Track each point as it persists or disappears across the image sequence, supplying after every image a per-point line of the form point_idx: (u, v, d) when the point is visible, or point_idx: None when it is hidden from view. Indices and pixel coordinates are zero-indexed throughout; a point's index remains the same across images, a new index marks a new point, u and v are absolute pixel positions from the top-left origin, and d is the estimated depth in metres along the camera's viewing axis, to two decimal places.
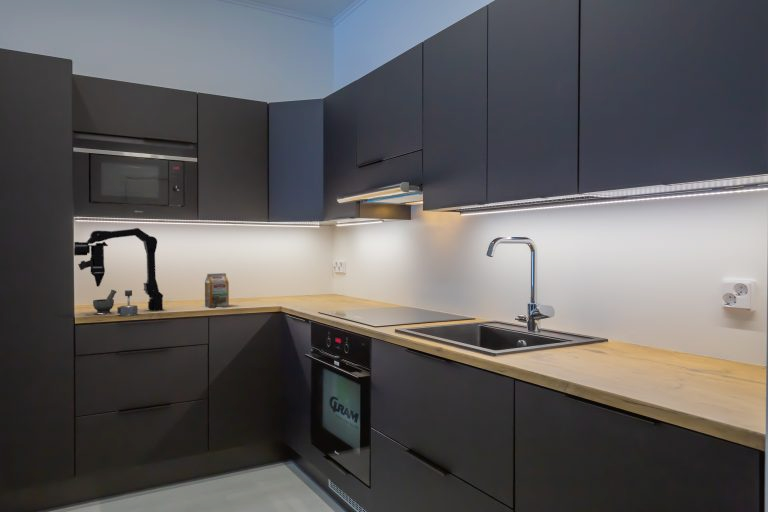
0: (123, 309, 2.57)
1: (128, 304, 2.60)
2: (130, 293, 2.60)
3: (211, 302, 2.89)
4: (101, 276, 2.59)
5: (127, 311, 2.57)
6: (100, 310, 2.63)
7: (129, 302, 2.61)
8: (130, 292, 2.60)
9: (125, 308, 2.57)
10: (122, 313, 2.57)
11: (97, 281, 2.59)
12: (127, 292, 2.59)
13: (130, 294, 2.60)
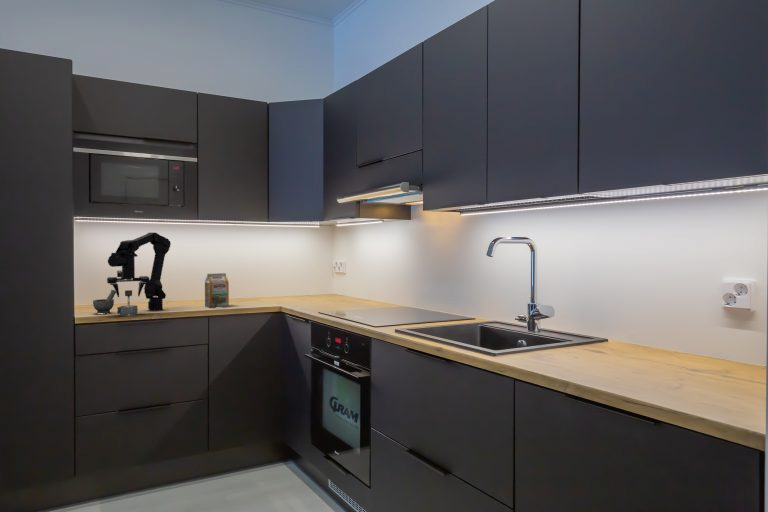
0: (123, 309, 2.57)
1: (128, 304, 2.60)
2: (130, 293, 2.60)
3: (211, 302, 2.89)
4: (114, 287, 2.56)
5: (127, 311, 2.57)
6: (100, 310, 2.63)
7: (129, 302, 2.61)
8: (130, 292, 2.60)
9: (125, 308, 2.57)
10: (122, 313, 2.57)
11: (116, 292, 2.58)
12: (127, 292, 2.59)
13: (130, 294, 2.60)
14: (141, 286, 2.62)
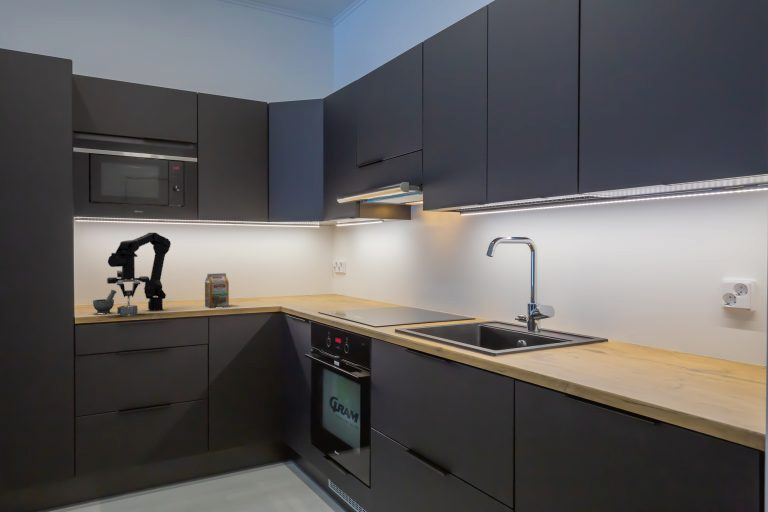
0: (123, 309, 2.57)
1: (128, 304, 2.60)
2: (130, 293, 2.60)
3: (211, 302, 2.89)
4: (121, 287, 2.57)
5: (127, 311, 2.57)
6: (100, 310, 2.63)
7: (129, 302, 2.61)
8: (130, 292, 2.60)
9: (125, 308, 2.57)
10: (122, 313, 2.57)
11: (122, 292, 2.59)
12: (127, 292, 2.59)
13: (130, 294, 2.60)
14: (135, 287, 2.60)
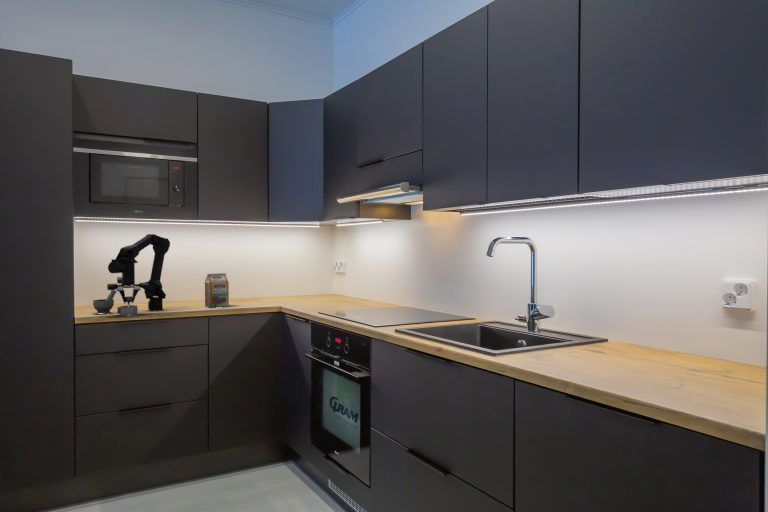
0: (123, 309, 2.57)
1: None
2: (130, 299, 2.60)
3: (211, 302, 2.89)
4: (121, 293, 2.58)
5: (127, 311, 2.57)
6: (100, 310, 2.63)
7: None
8: (130, 298, 2.60)
9: (125, 308, 2.57)
10: (122, 313, 2.57)
11: (122, 298, 2.59)
12: (128, 298, 2.59)
13: (130, 300, 2.60)
14: (135, 293, 2.60)
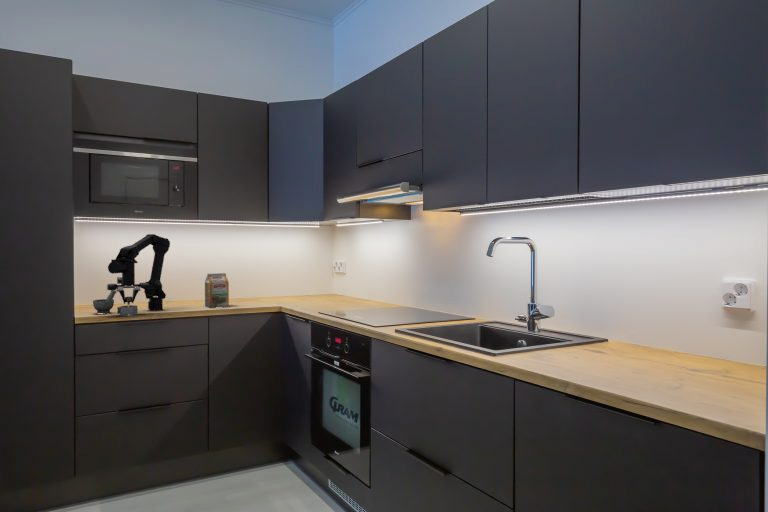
0: (123, 309, 2.57)
1: None
2: (130, 300, 2.60)
3: (211, 302, 2.89)
4: (121, 294, 2.57)
5: (127, 311, 2.57)
6: (100, 310, 2.63)
7: None
8: (130, 298, 2.60)
9: (125, 308, 2.57)
10: (122, 313, 2.57)
11: (122, 298, 2.59)
12: (128, 298, 2.59)
13: (130, 300, 2.60)
14: (135, 293, 2.60)
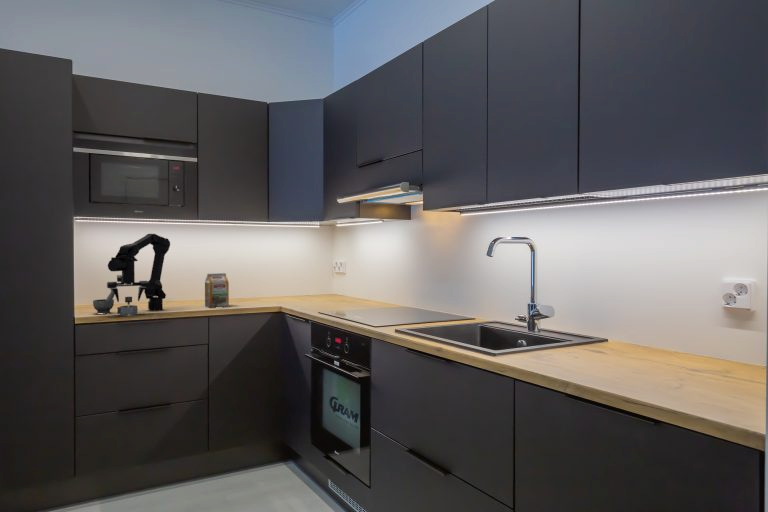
0: (123, 309, 2.57)
1: None
2: (130, 300, 2.60)
3: (211, 302, 2.89)
4: (114, 292, 2.56)
5: (127, 311, 2.57)
6: (100, 310, 2.63)
7: None
8: (130, 298, 2.60)
9: (125, 308, 2.57)
10: (122, 313, 2.57)
11: (116, 296, 2.58)
12: (128, 298, 2.59)
13: (130, 300, 2.60)
14: (141, 291, 2.62)
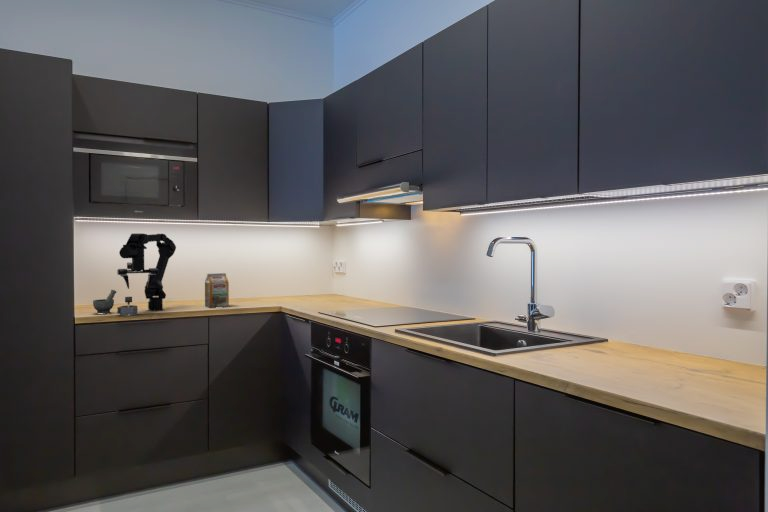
0: (123, 309, 2.57)
1: None
2: (130, 300, 2.60)
3: (211, 302, 2.89)
4: (125, 279, 2.61)
5: (127, 311, 2.57)
6: (100, 310, 2.63)
7: None
8: (130, 298, 2.60)
9: (125, 308, 2.57)
10: (122, 313, 2.57)
11: (126, 283, 2.63)
12: (128, 298, 2.59)
13: (130, 300, 2.60)
14: (150, 278, 2.67)
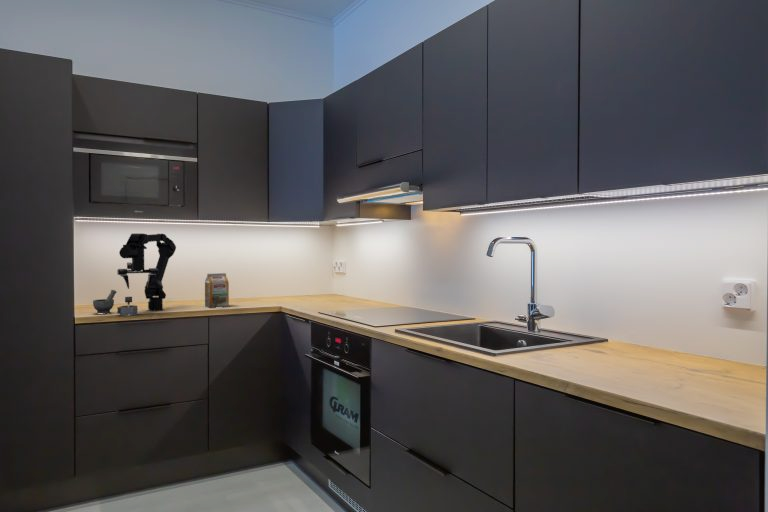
0: (123, 309, 2.57)
1: None
2: (130, 300, 2.60)
3: (211, 302, 2.89)
4: (125, 279, 2.61)
5: (127, 311, 2.57)
6: (100, 310, 2.63)
7: None
8: (130, 298, 2.60)
9: (125, 308, 2.57)
10: (122, 313, 2.57)
11: (126, 283, 2.63)
12: (128, 298, 2.59)
13: (130, 300, 2.60)
14: (150, 278, 2.67)
